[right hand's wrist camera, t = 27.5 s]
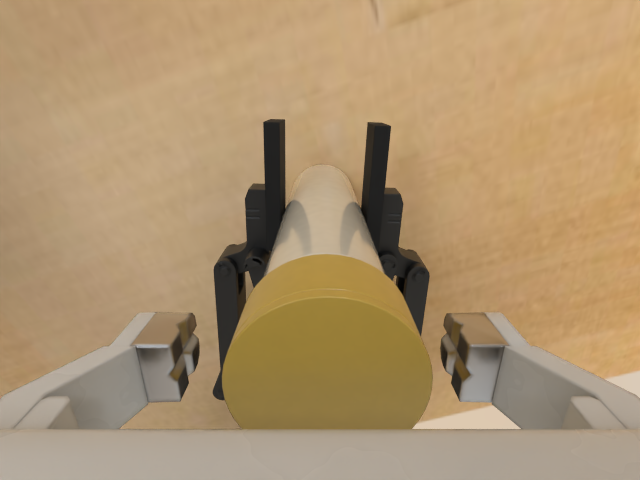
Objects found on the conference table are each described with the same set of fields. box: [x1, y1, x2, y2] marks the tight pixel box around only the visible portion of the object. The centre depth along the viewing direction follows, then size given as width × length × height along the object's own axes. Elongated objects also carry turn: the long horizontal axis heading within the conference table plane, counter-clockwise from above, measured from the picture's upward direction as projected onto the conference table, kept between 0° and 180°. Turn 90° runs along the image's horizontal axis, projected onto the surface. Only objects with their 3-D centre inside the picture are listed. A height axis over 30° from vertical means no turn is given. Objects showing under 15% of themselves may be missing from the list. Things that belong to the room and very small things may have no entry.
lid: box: [222, 254, 433, 429], centre depth 10 cm, size 5×5×2 cm
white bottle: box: [263, 164, 386, 278], centre depth 18 cm, size 4×4×18 cm
